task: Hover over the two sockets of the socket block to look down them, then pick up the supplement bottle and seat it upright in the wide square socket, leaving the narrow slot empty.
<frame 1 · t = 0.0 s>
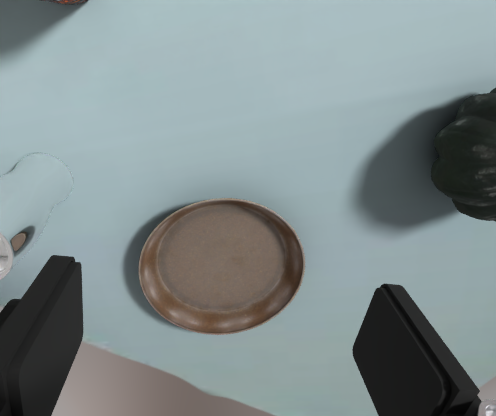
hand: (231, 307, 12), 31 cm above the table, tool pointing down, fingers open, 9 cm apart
plant saucer: (223, 258, 49), on the table
beer glass: (46, 177, 41), on the table
squash: (472, 141, 44), on the table
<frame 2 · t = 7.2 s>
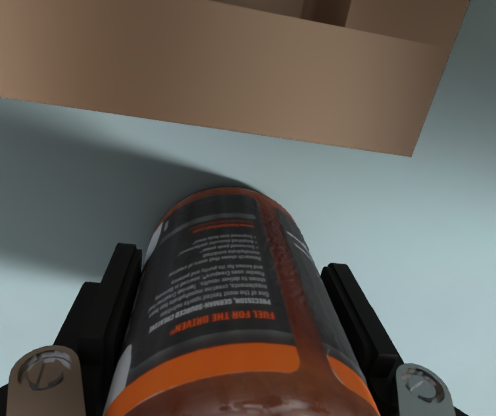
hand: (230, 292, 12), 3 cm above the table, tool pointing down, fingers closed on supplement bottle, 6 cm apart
supplement bottle: (226, 247, 15), on the table, touching gripper
when the fingers open (5 cm above the table, at t = 13.1 s): supplement bottle drops 2 cm, resting on socket block.
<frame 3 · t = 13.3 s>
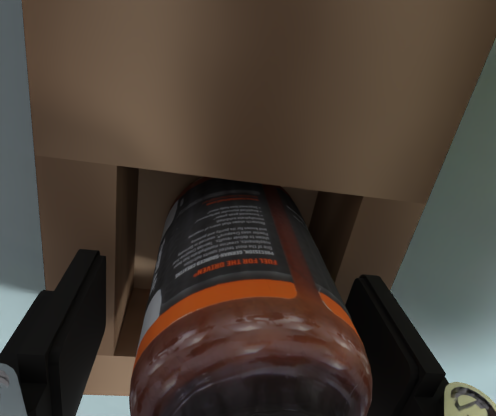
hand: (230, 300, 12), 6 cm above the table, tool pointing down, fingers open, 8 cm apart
supplement bottle: (232, 225, 17), point 1 cm above the table, touching socket block
socket block: (244, 83, 15), on the table
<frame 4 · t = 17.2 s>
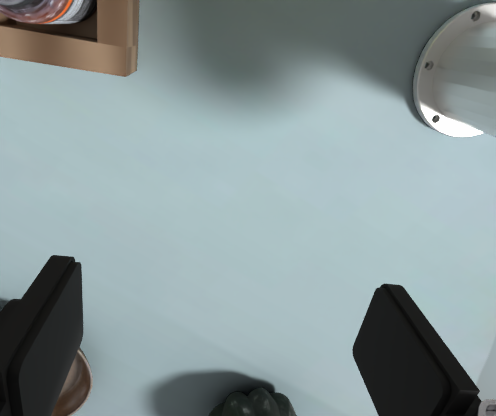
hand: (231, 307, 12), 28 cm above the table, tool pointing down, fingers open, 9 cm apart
plant saucer: (18, 357, 49), on the table
squash: (250, 405, 57), on the table
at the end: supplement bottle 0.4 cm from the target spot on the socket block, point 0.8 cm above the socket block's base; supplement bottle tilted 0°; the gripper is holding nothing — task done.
